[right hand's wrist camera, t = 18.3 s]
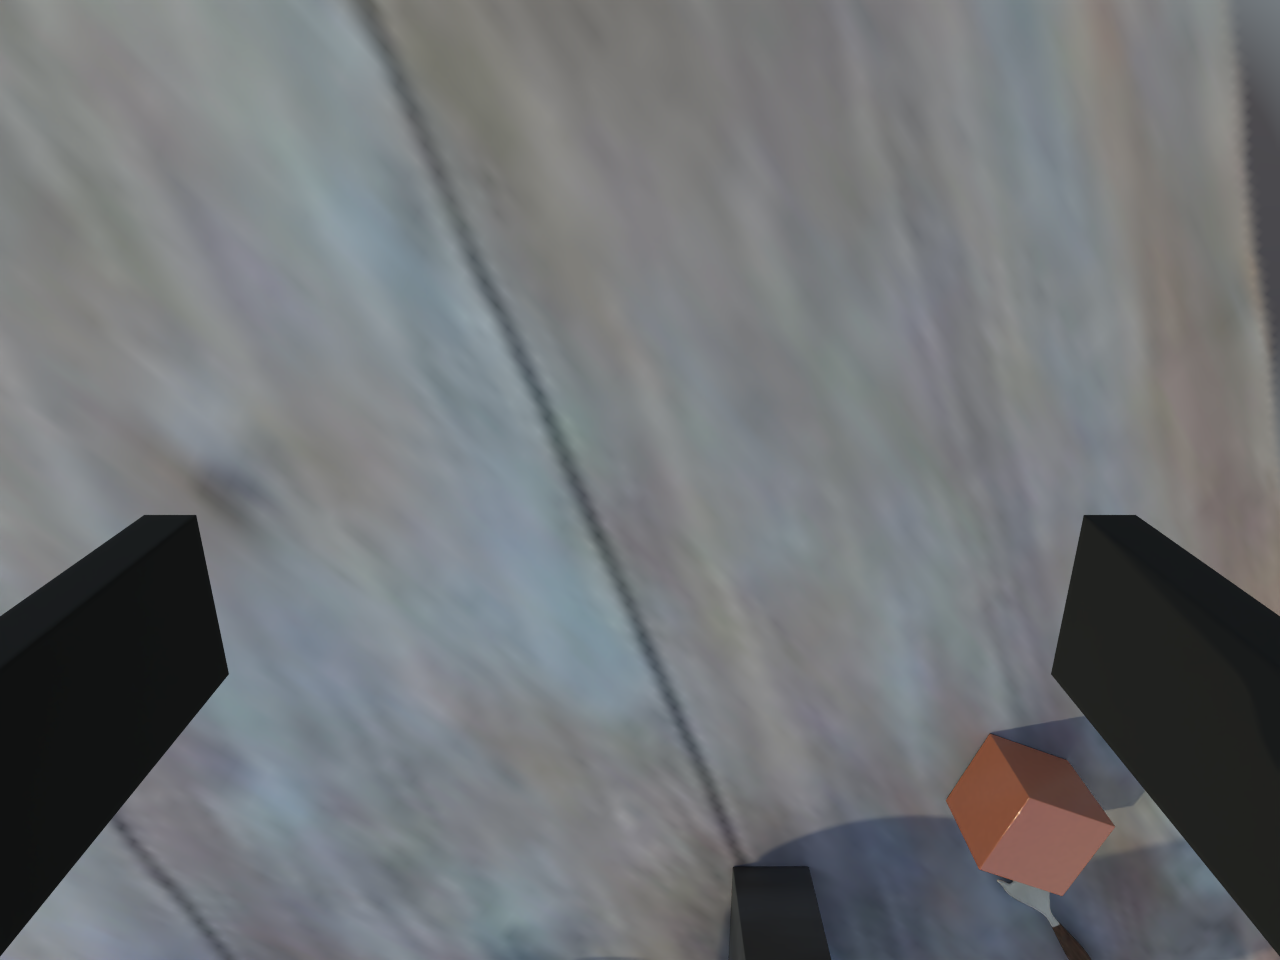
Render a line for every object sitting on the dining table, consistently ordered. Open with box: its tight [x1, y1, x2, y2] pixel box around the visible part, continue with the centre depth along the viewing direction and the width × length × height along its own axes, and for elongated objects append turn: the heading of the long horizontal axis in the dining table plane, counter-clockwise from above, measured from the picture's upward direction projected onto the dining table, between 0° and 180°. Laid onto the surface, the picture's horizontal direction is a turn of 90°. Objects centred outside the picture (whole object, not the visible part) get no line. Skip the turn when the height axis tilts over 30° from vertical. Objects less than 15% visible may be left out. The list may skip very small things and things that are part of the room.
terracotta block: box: [946, 734, 1115, 896], centre depth 44 cm, size 5×5×5 cm
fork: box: [997, 879, 1091, 960], centre depth 50 cm, size 3×16×2 cm, turn 35°
